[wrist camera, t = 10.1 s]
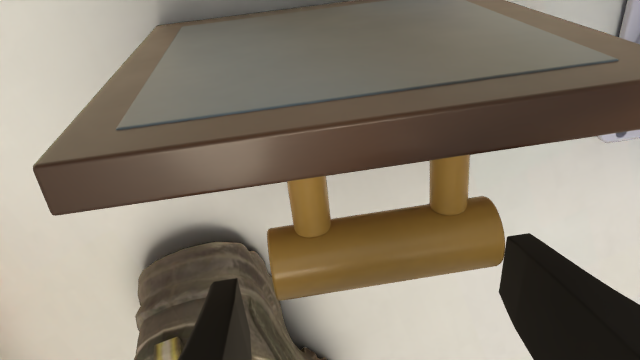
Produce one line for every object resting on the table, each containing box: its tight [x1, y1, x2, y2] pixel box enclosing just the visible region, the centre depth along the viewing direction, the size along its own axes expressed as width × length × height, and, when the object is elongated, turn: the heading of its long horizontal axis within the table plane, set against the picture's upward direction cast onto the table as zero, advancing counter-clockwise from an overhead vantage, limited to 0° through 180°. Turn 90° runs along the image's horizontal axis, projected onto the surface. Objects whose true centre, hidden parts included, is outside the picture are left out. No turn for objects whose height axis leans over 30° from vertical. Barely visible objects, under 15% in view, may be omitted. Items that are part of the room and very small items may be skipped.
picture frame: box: [33, 0, 640, 301], centre depth 15 cm, size 12×12×4 cm
